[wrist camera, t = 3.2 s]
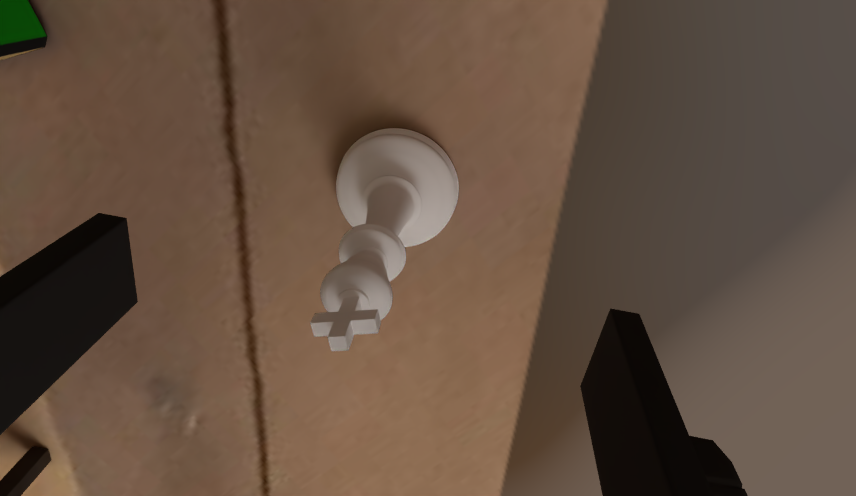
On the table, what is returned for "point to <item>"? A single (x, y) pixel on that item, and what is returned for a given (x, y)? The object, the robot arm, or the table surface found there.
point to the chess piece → (382, 225)
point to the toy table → (24, 472)
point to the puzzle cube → (19, 29)
